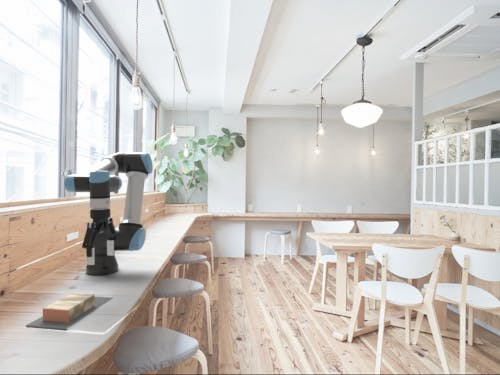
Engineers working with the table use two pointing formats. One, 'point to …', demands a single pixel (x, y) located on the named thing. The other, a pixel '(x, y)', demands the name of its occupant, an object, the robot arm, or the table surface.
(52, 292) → the table surface
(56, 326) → the mat
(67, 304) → the block
